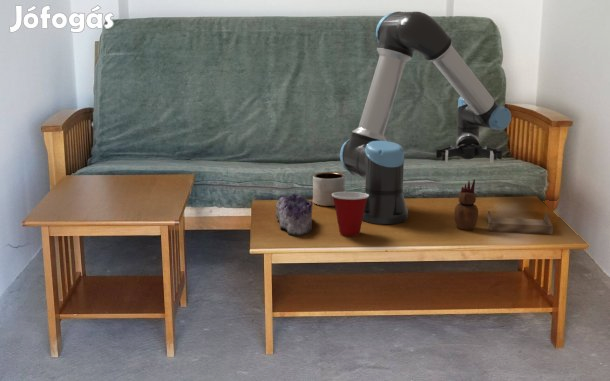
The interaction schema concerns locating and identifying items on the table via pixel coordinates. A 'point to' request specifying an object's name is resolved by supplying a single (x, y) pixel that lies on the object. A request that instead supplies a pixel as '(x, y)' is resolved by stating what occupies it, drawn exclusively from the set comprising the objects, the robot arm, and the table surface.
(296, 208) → the geode
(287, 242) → the table surface
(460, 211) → the wooden figurine
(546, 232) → the tray
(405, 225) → the table surface
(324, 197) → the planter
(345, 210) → the plastic cup
